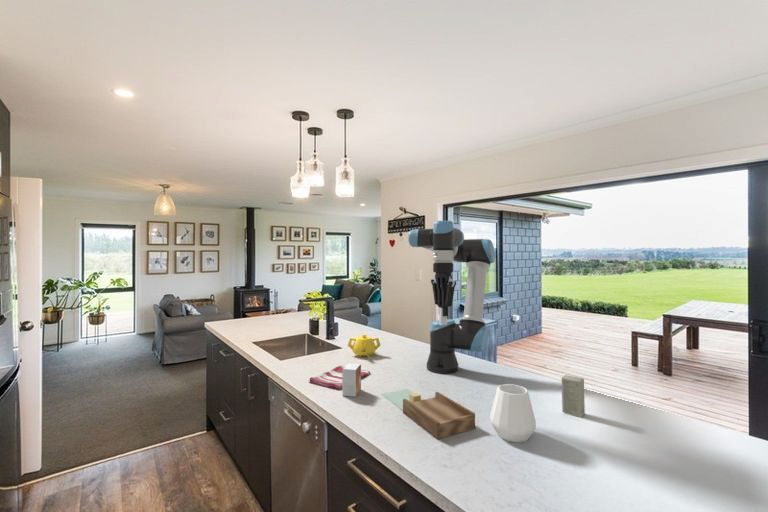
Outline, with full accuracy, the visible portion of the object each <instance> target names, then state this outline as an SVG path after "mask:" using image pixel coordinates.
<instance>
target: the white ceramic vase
mask: <svg viewBox="0 0 768 512" xmlns="http://www.w3.org/2000/svg"><path fill="white" fill-rule="evenodd" d="M529 393H530V392H529V390H528V389H527V388H526V387H524V386H521V385H519V384H513V383H504V384H500V385H498V386H497V387H496V393H495V396H494V399H493V403H492V408H491V410H490V414H489V421H490V424H491V426H492V427H493V429H494V431H495V433H496V434H497V436H498V437H499V438H501V439H503V440H505V441H508V442H511V441H512V442H513V443H523V441H524V442H526V441H528V440H529V439H528V438H530V437H531V436H532V434H534V432H535V431H536V429H537V424H536V423H537V422H536V417H535V414H534V410H533V406H532V402H531V401H532V400H531V398H530V394H529Z"/></svg>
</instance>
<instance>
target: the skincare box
mask: <svg viewBox="0 0 768 512" xmlns="http://www.w3.org/2000/svg"><path fill="white" fill-rule="evenodd" d="M561 405H562V407H561V410H562V413H563V412H564V413H563V414H567V415H571V416H574V417H579V418H582V417H583V416H584V415H585V414H586V412H585V411H586V409H585V379H584V378H582V377H577V376H572V375H567V374H565V375H564V376H562V377H561Z"/></svg>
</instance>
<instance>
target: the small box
mask: <svg viewBox="0 0 768 512" xmlns="http://www.w3.org/2000/svg"><path fill="white" fill-rule="evenodd" d="M344 366H345V367H344V368H343V369H342V389H341V390H342V391H341V392H342V396H343V397H355V398H356V397H357V396H358V394H360V392H361V390H362V379H361V370H362V364H361V363H350V362H349V363H347V364H346V365H344Z"/></svg>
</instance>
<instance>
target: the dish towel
mask: <svg viewBox="0 0 768 512" xmlns="http://www.w3.org/2000/svg"><path fill="white" fill-rule="evenodd" d="M345 366H346V365H339V366H336V367H334V368H332V369H331V370H328V371H326V372H323V373H321V374H320V375H318V376H314V377H313V376H311V377H309V380H308V381H309V382H308V383H310V384H313V385H317V386H320V387H325V388H328V389H332V390H335V391H340V390H342V369H343V368H344V367H345ZM369 375H372V374H371V372H370V371H369V370H364V369H361V380H362V379H364V378H366V377H368V376H369Z"/></svg>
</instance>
